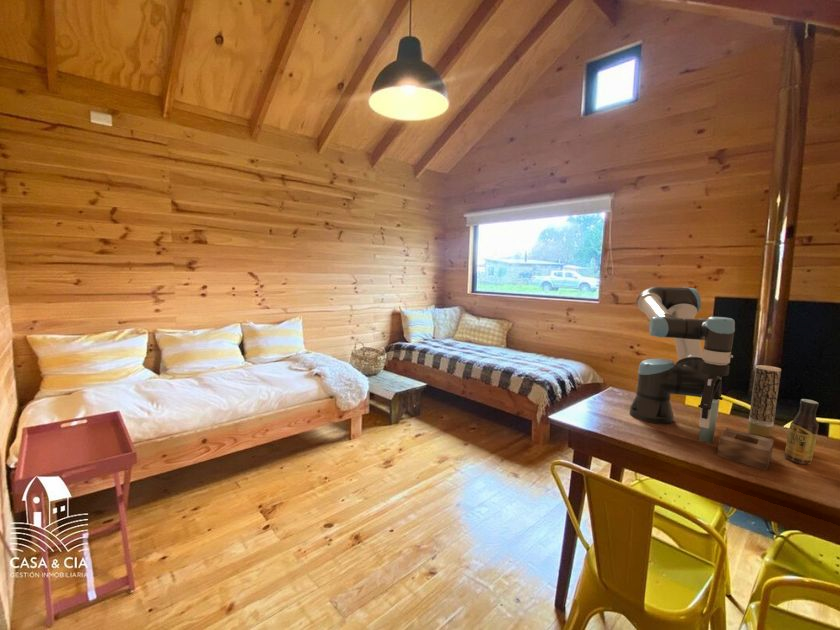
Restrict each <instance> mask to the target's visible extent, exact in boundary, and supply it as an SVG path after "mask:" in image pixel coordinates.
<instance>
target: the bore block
mask: <svg viewBox="0 0 840 630" xmlns="http://www.w3.org/2000/svg"><path fill="white" fill-rule="evenodd" d="M774 441H775V440H774V439H772V438H769V437H761V436H757V435H754V434H752V433H750V432H745V431H741V430H736V429H733V428H729V427H726V428H725V429H724V431H723V432H722V433H721V435H720V436H719V440H718V446H717V454H716V456H718V457H721V458H725V459H727V460H729V461H734V462H737V463H741V464H744V465H747V466H751V467H753V468H756V469H760V470H764V471H768V469H769V468H768V467H769V465H770V463H771V459H772V455H773V447H774Z"/></svg>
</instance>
